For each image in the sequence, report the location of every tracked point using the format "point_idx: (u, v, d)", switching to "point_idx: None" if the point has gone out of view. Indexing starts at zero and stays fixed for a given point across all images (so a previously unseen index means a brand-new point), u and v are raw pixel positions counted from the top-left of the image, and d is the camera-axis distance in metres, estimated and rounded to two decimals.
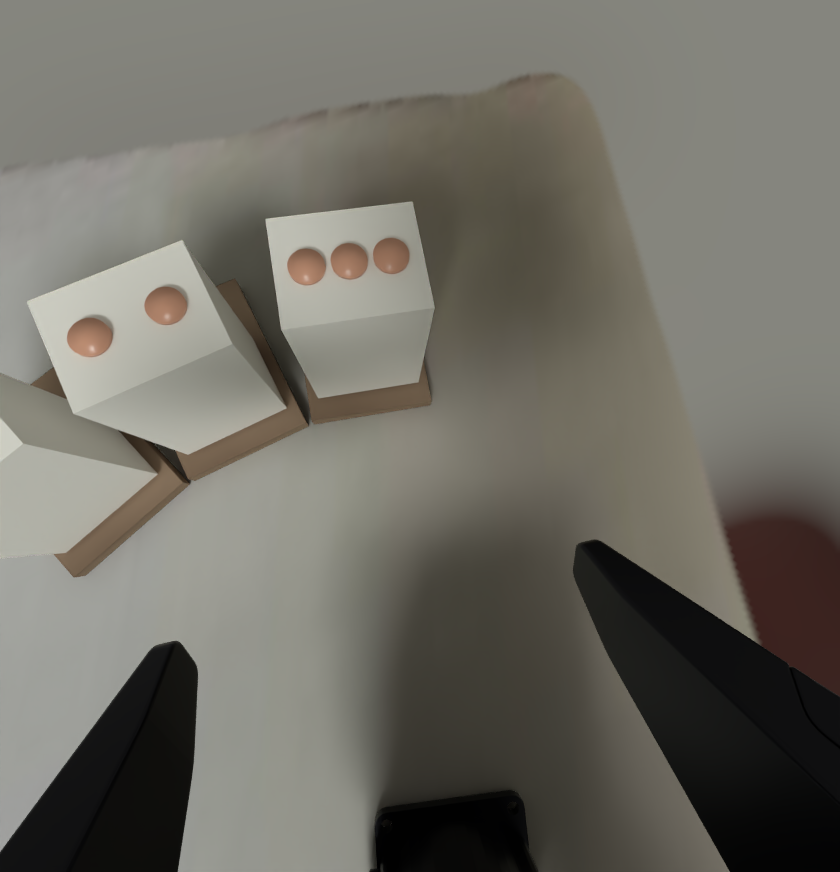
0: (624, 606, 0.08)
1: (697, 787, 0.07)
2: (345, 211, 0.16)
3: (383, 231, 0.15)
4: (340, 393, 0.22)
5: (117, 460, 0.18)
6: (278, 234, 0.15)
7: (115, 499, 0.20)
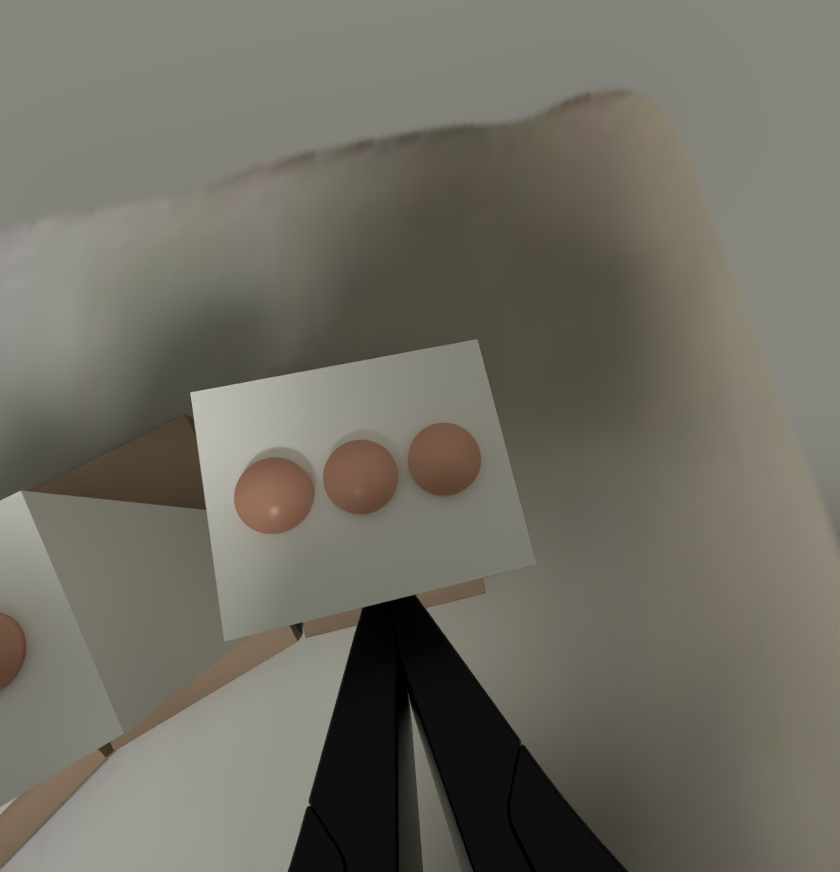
0: (401, 664, 0.07)
1: (460, 861, 0.07)
2: (349, 365, 0.08)
3: (425, 404, 0.08)
4: None
5: None
6: (217, 424, 0.08)
7: None
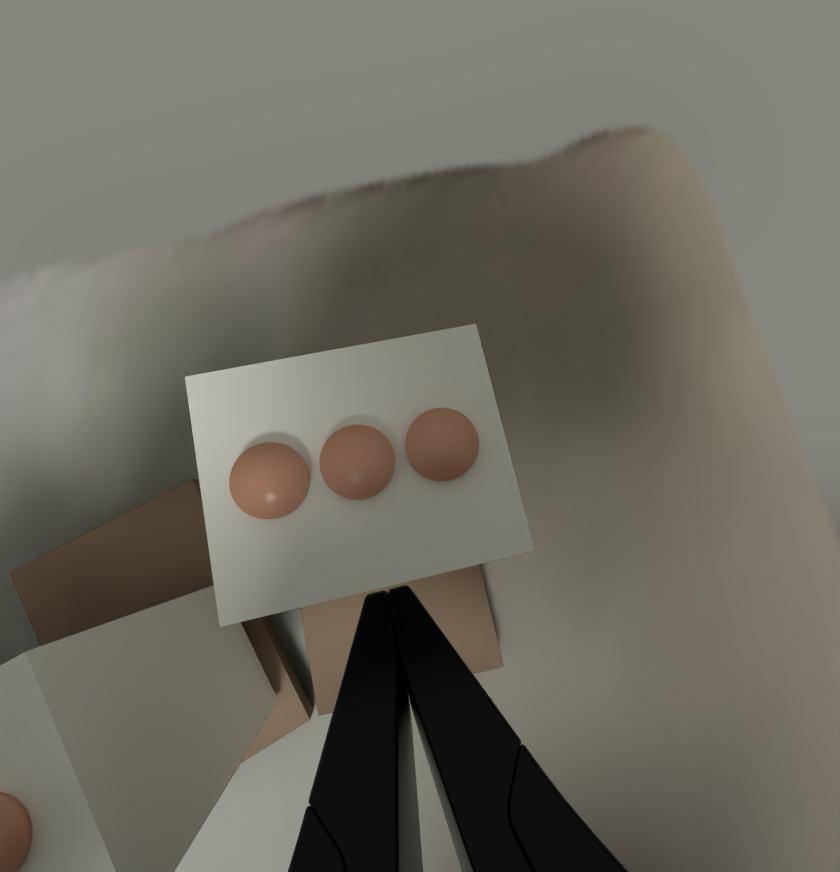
0: (401, 664, 0.07)
1: (460, 861, 0.07)
2: (345, 350, 0.08)
3: (422, 389, 0.08)
4: None
5: None
6: (211, 409, 0.07)
7: None
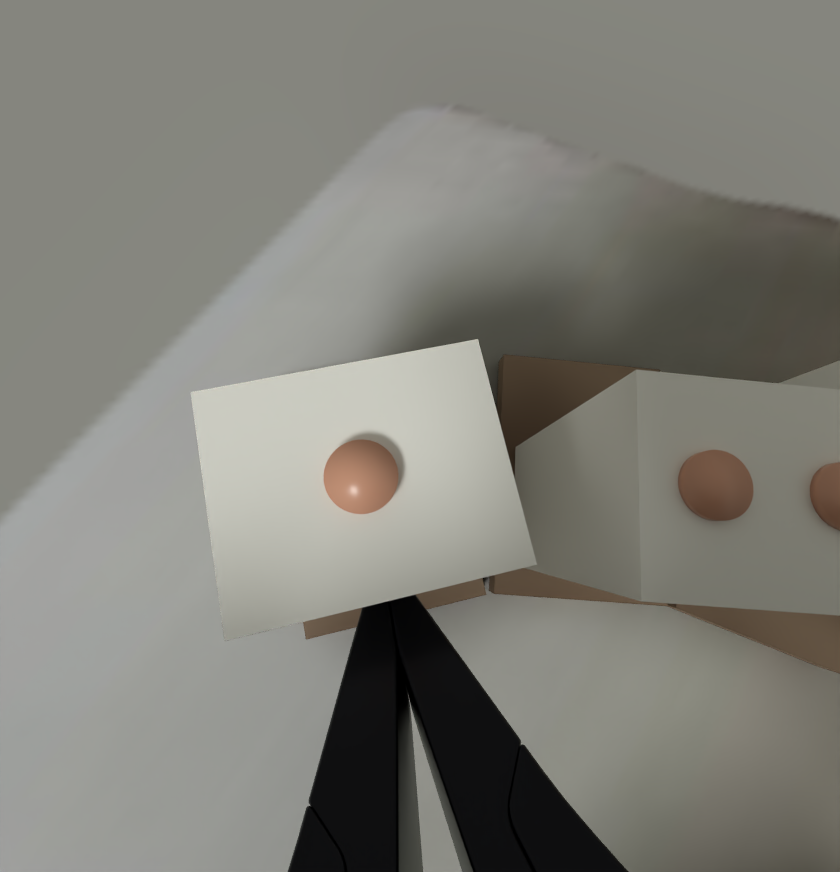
0: (402, 664, 0.07)
1: (460, 861, 0.07)
2: None
3: None
4: None
5: None
6: None
7: None
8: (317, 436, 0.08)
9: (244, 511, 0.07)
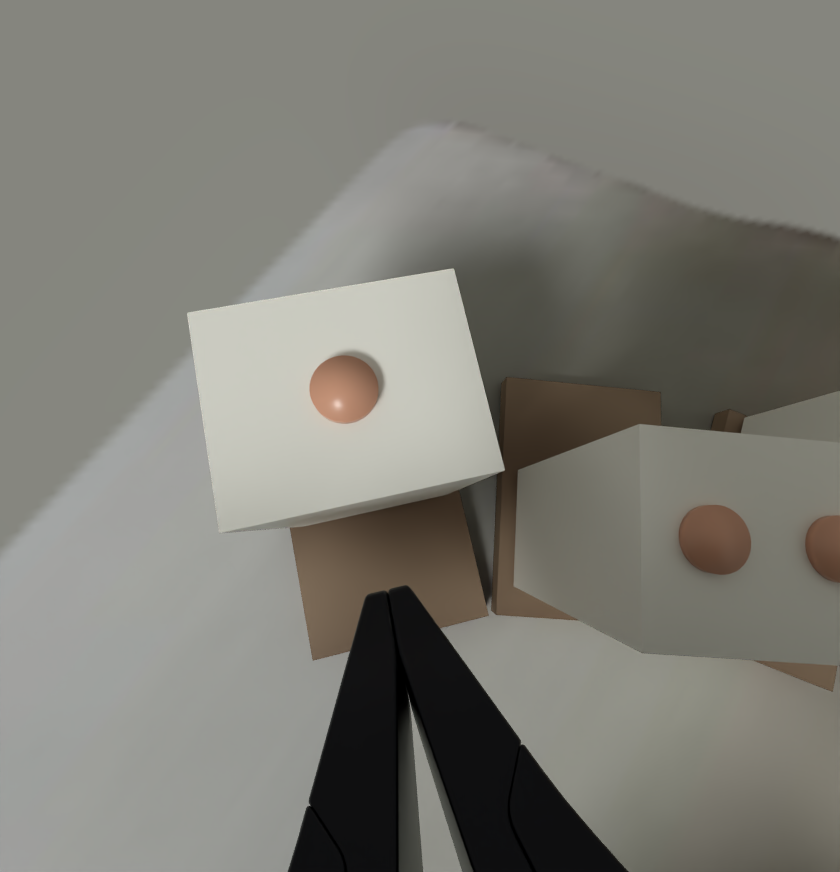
0: (402, 664, 0.07)
1: (460, 861, 0.07)
2: None
3: None
4: None
5: None
6: None
7: (399, 504, 0.15)
8: (304, 353, 0.08)
9: (237, 419, 0.08)
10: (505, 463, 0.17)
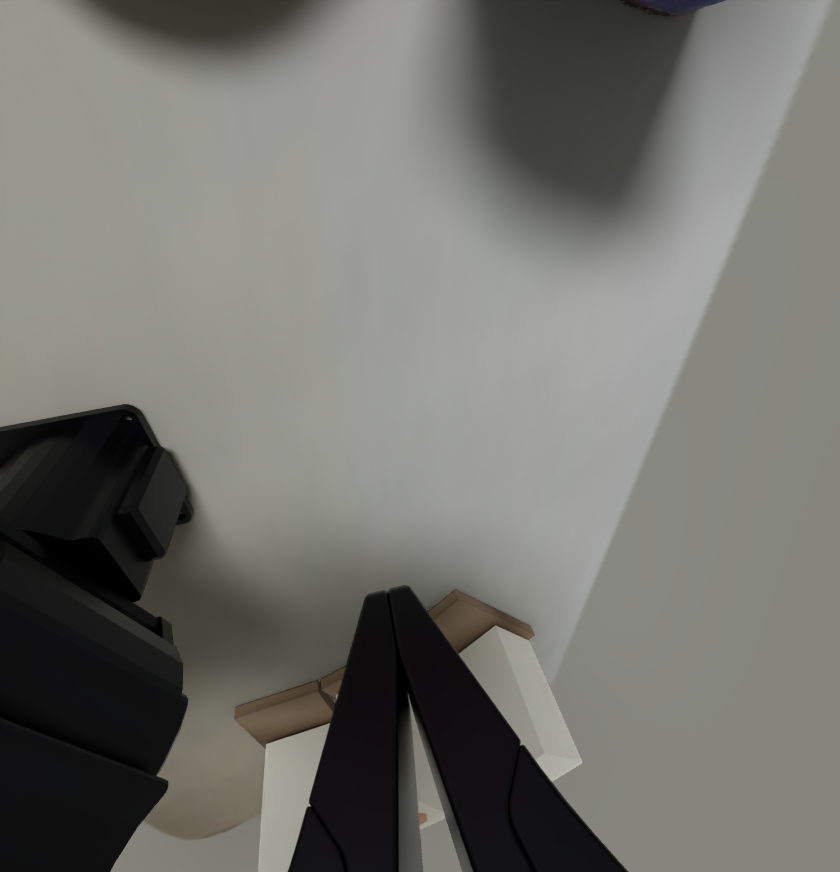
0: (402, 664, 0.07)
1: (460, 861, 0.07)
2: None
3: None
4: (316, 731, 0.34)
5: None
6: None
7: (465, 663, 0.32)
8: (547, 775, 0.27)
9: (555, 762, 0.26)
10: None
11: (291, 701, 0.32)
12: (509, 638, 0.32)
